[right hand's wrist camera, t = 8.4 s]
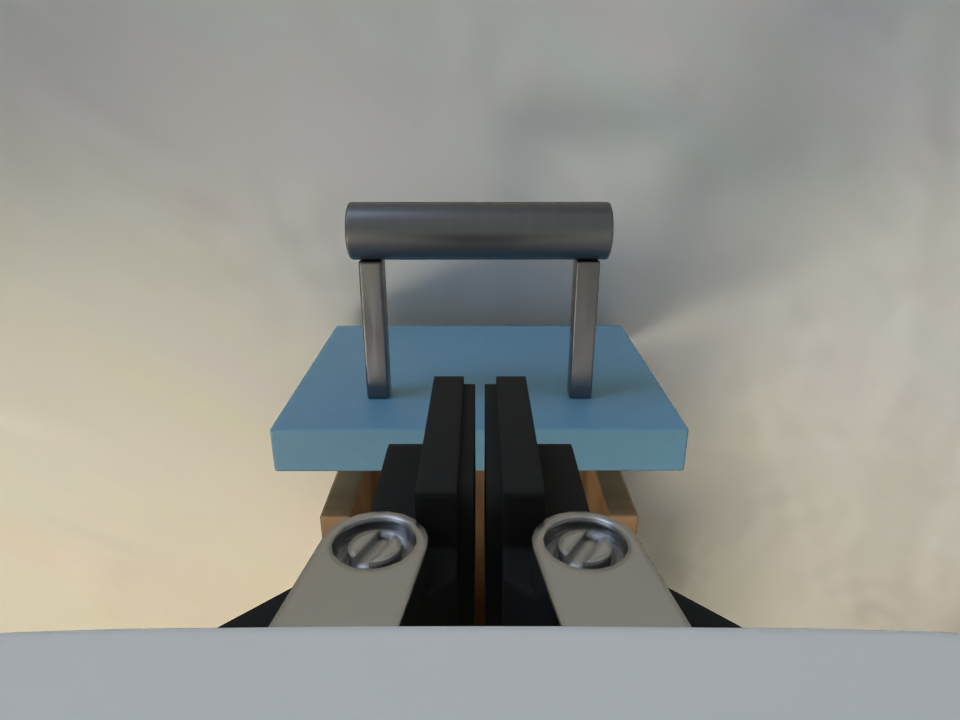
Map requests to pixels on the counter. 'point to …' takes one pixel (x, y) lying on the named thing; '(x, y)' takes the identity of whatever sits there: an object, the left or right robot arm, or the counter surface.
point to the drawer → (478, 362)
